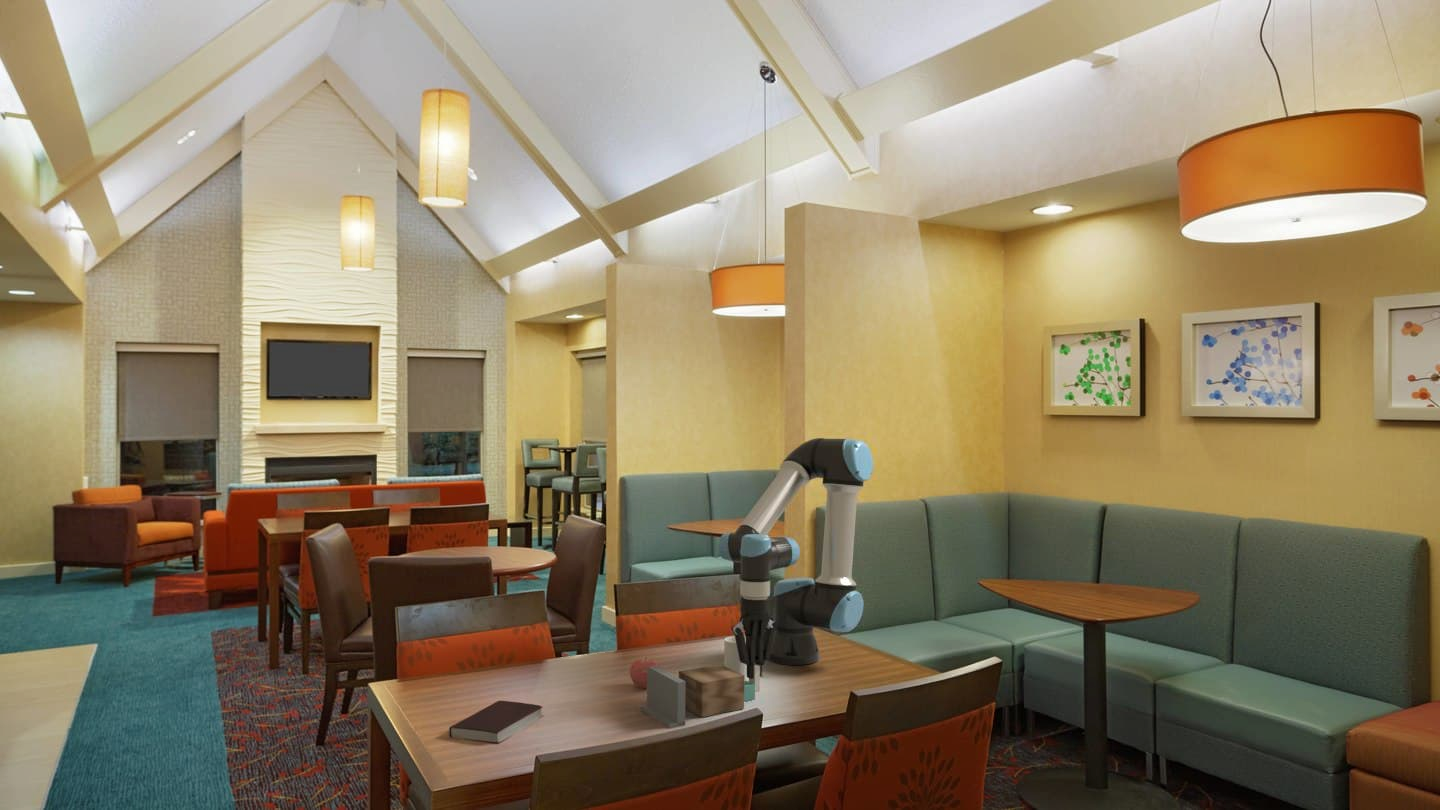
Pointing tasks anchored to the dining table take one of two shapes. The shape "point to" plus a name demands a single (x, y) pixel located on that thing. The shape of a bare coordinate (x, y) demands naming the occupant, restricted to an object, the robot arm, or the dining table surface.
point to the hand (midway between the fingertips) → (754, 690)
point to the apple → (641, 671)
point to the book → (496, 722)
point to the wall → (665, 697)
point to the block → (713, 690)
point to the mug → (734, 657)
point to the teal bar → (749, 691)
